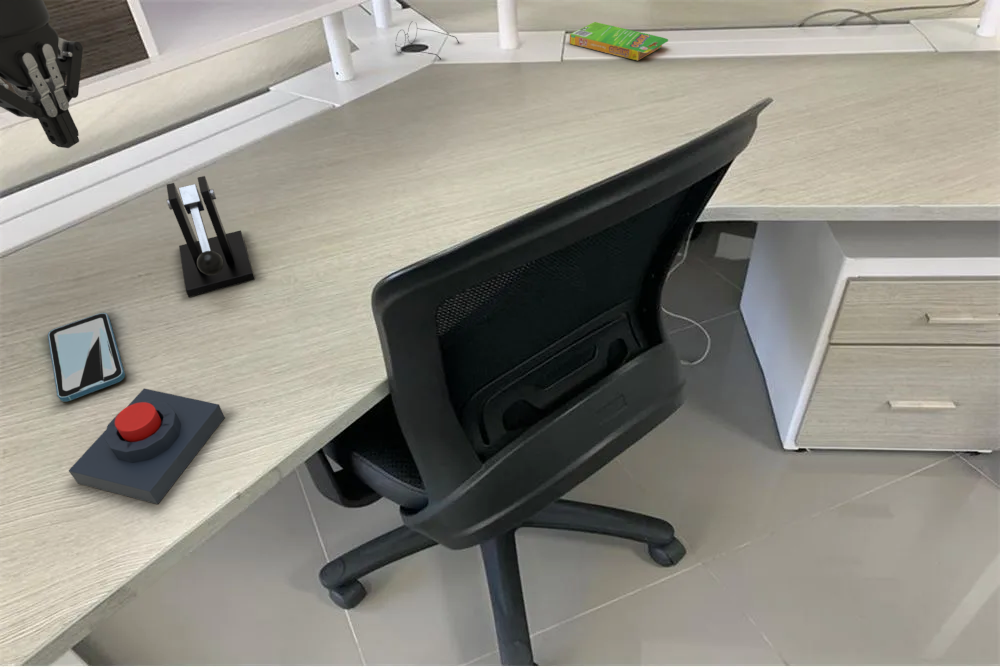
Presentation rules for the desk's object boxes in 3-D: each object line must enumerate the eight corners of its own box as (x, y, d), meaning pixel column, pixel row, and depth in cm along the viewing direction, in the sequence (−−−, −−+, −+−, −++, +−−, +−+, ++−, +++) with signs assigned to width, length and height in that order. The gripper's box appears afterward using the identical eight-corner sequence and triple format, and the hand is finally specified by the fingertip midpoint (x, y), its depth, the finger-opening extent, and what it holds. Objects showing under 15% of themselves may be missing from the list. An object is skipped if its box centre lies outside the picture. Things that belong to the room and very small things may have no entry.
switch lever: (228, 275, 93) (223, 264, 90) (203, 282, 92) (197, 271, 89) (204, 194, 96) (198, 181, 93) (179, 199, 96) (173, 186, 93)
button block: (158, 504, 71) (142, 480, 68) (77, 483, 73) (59, 459, 70) (225, 417, 79) (213, 393, 76) (151, 401, 82) (137, 377, 79)
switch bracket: (255, 279, 98) (227, 200, 90) (188, 297, 96) (153, 217, 88) (243, 236, 107) (216, 160, 98) (181, 252, 104) (149, 175, 96)
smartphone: (106, 310, 93) (124, 375, 83) (109, 316, 94) (128, 381, 84) (46, 331, 91) (57, 400, 81) (50, 336, 91) (61, 406, 81)
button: (145, 445, 72) (138, 434, 71) (113, 438, 73) (105, 427, 72) (169, 417, 75) (163, 406, 74) (138, 410, 76) (131, 399, 74)
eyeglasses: (461, 41, 165) (459, 19, 162) (439, 61, 156) (436, 38, 153) (418, 38, 168) (415, 16, 165) (394, 57, 160) (391, 34, 156)
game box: (594, 34, 167) (669, 48, 155) (569, 47, 162) (645, 62, 150) (594, 21, 165) (670, 34, 153) (568, 33, 160) (645, 48, 148)
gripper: (10, -44, 72) (83, 116, 84) (-107, -5, 63) (-6, 169, 74) (68, -41, 70) (135, 122, 82) (-43, -1, 61) (49, 177, 73)
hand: (67, 144), depth 78 cm, fingers closed
